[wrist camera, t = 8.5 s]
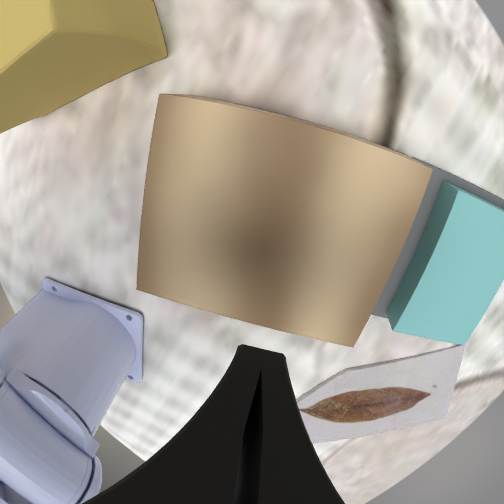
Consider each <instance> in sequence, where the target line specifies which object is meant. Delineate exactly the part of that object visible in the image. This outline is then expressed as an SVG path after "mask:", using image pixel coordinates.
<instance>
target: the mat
mask: <svg viewBox="0 0 504 504" xmlns="http://www.w3.org/2000/svg"><path fill="white" fill-rule="evenodd" d="M413 159H415V158H413ZM415 160H417V161H419V162H421V163H423V164H425V165H426V166H428V167H430V168H432V169H433V171H432V174H431V177H430V180H429V182H428V185H427V188H426V191H425V193H424V196H423V199H422V201H421V204H420V207H419V209H418V212H417V214H416V217H415V219H414V222H413V224H412V227H411V229H410V232H409V234H408V236H407V239H406V241H405V243H404V246H403V248H402V250H401V253H400V255H399V257H398V259H397V261H396V264H395V266H394V268H393V270H392V272H391V275H390V277H389V279H388V281H387V283H386V285H385V287H384V289H383V291H382V293H381V295H380V297H379V299H378V301H377V303H376V305H375V307H374V309H373V311H372V313H371V314H372V315H376V316H380V317H384V318H388V316H387V313H386V311H387V309H388V307H389V305H390V303H391V302H392V300H393V298H394V296H395V294H396V292H397V290H398V288H399V286H400V283H401V281H402V279H403V277H404V275H405V273H406V271H407V269H408V267H409V264H410V262H411V260H412V258H413V256H414V253H415V251H416V249H417V247H418V244H419V242H420V240H421V237H422V235H423V233H424V230H425V228H426V225H427V223H428V220H429V218H430V215H431V213H432V210H433V208H434V205H435V203H436V200H437V197H438V194H439V192H440V189H441V186H442V183H443V181H445V182H447V183H450V184H452V185H454V186H456V187H459V188H461V189H463V190H465V191H467V192H470V193H472V194H474V195H476V196H478V197H480V198H482V199H484V200H486V201H488V202H490V203H492V204H494V205H496V206H498V207H500V208H502V209H504V200H502V199H501V198H499V197H497V196H495V195H493V194H491V193H489V192H487V191H485V190H483V189H481V188H479V187H477V186H475V185H473V184H471V183H469V182H467V181H465V180H463V179H461V178H459V177H457V176H454V175H452V174H450V173H448V172H446V171H444V170H441V169H439V168H437V167H434V166H432V165H430V164H427V163H425V162H423V161H420V160H418V159H415ZM388 319H389V318H388Z"/></svg>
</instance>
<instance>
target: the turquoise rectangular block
mask: <svg viewBox="0 0 504 504" xmlns="http://www.w3.org/2000/svg"><path fill="white" fill-rule="evenodd" d="M503 280H504V209H502V208H500V207H498V206H496V205H494V204H492V203H490V202H488V201H486V200H484V199H482V198H480V197H478V196H476V195H474V194H472V193H470V192H467V191H465V190H463V189H461V188H459V187H456V186H454V185H452V184H450V183H447V182H445V181H443V183H442V186H441V189H440V192H439V194H438V197H437V200H436V203H435V205H434V208H433V210H432V213H431V215H430V218H429V220H428V223H427V225H426V228H425V230H424V233H423V235H422V237H421V240H420V242H419V244H418V247H417V249H416V251H415V253H414V256H413V258H412V260H411V262H410V264H409V267H408V269H407V271H406V273H405V275H404V277H403V279H402V281H401V283H400V286H399V288H398V290H397V292H396V294H395V296H394V298H393V300H392V302H391V303H390V305H389V307H388V309H387V311H386V313H387V316H388V318H389V321H390V324H391V327H392V330H393V331H395V332H399V333H404V334H409V335H414V336H419V337H424V338H429V339H434V340H439V341H444V342H449V343H454V344H460V345H465V343H466V342H467V340H468V339H469V337H470V336H471V334H472V333H473V331H474V330H475V328H476V326H477V325H478V323H479V322H480V320H481V318H482V317H483V315H484V313H485V312H486V310H487V308H488V307H489V305H490V303H491V302H492V300H493V298H494V296H495V294H496V293H497V291H498V289H499V287H500V285H501V283H502V282H503Z"/></svg>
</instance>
